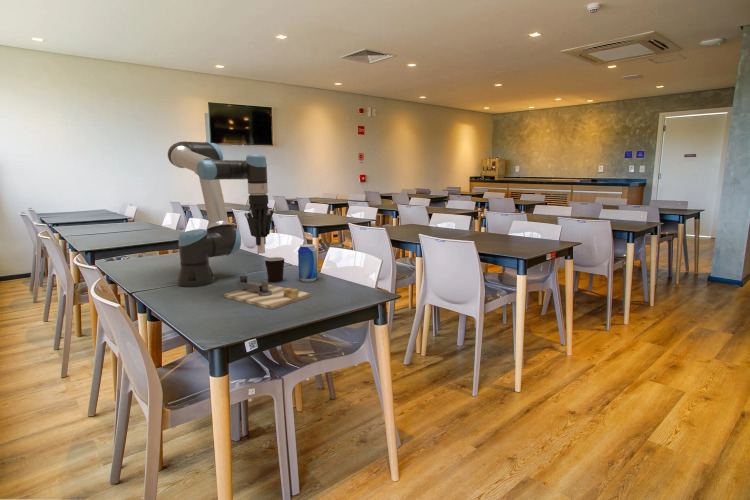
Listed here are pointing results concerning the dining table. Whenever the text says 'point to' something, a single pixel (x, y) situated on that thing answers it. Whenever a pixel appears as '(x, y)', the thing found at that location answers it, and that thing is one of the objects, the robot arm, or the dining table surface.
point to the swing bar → (249, 284)
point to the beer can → (307, 262)
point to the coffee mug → (275, 269)
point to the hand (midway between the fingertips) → (261, 252)
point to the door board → (268, 296)
